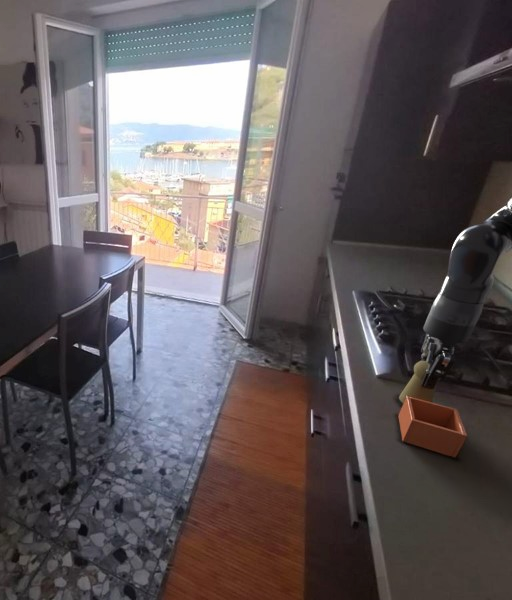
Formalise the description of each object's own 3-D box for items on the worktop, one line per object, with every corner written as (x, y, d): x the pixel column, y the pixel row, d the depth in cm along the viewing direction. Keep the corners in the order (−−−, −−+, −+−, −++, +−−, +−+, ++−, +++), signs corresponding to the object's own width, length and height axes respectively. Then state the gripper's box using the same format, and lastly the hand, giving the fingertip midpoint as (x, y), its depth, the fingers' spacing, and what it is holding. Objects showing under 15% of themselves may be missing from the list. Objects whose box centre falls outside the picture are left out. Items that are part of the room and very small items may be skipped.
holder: (398, 416, 82) (406, 395, 80) (446, 429, 78) (457, 409, 76) (402, 441, 76) (412, 420, 73) (455, 457, 72) (467, 436, 69)
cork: (392, 395, 88) (407, 358, 83) (415, 392, 88) (431, 356, 84) (414, 412, 82) (431, 374, 78) (437, 409, 83) (456, 371, 78)
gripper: (487, 335, 68) (452, 404, 75) (467, 306, 79) (439, 368, 86) (436, 326, 71) (408, 393, 79) (424, 299, 83) (400, 360, 90)
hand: (424, 380), depth 82 cm, fingers closed on cork, 5 cm apart
